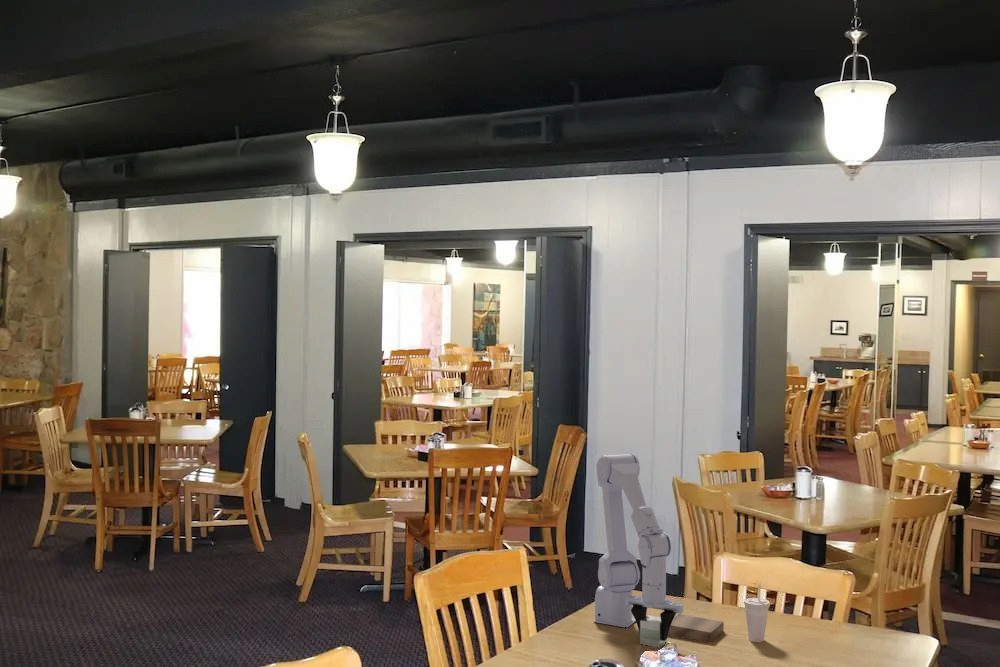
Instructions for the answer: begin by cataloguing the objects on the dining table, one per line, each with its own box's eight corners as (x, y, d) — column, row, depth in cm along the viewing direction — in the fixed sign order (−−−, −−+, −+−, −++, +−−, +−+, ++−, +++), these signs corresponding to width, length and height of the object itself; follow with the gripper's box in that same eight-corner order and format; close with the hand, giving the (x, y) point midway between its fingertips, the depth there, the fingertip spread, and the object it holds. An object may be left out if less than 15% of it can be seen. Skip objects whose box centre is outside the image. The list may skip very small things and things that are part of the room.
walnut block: (664, 636, 246) (664, 624, 246) (678, 625, 254) (678, 613, 254) (710, 644, 240) (711, 632, 239) (723, 633, 248) (723, 621, 248)
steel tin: (639, 644, 238) (640, 620, 238) (647, 638, 242) (647, 614, 242) (659, 648, 235) (659, 623, 235) (666, 642, 240) (667, 618, 239)
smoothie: (770, 644, 238) (771, 588, 238) (743, 643, 239) (744, 586, 239) (768, 636, 244) (769, 581, 244) (742, 634, 246) (743, 579, 245)
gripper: (620, 582, 239) (619, 637, 239) (676, 591, 231) (676, 647, 232) (631, 575, 245) (630, 629, 245) (686, 584, 237) (685, 639, 238)
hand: (653, 637), depth 239 cm, fingers closed on steel tin, 5 cm apart
